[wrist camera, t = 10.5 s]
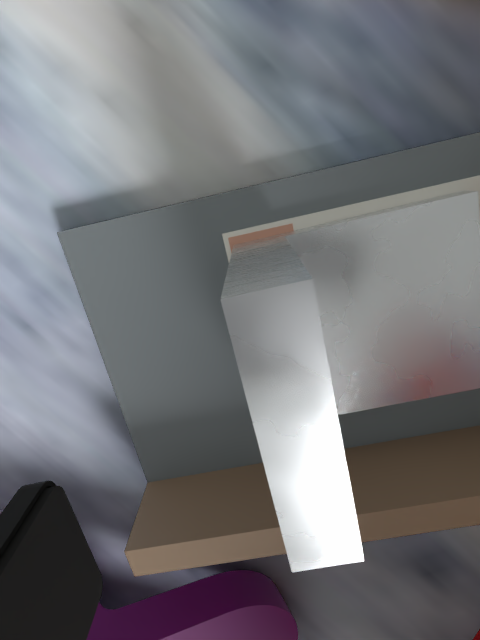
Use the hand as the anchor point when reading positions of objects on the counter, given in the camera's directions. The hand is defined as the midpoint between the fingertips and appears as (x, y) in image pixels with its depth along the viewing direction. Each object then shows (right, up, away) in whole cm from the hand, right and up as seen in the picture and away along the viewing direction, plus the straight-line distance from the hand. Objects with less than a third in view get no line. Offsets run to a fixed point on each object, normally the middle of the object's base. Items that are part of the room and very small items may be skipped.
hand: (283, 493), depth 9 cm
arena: (+3, +3, +10) cm, 11 cm away
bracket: (+4, +4, +8) cm, 10 cm away
